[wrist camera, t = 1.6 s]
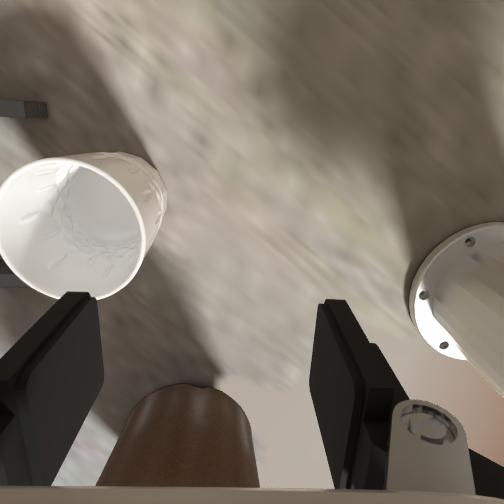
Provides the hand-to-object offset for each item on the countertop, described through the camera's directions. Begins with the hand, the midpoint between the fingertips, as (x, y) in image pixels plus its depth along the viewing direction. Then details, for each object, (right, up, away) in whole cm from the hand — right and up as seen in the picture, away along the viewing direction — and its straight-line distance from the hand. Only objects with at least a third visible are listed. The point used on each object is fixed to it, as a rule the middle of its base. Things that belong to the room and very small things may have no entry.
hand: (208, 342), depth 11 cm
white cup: (-9, +7, +18) cm, 21 cm away
